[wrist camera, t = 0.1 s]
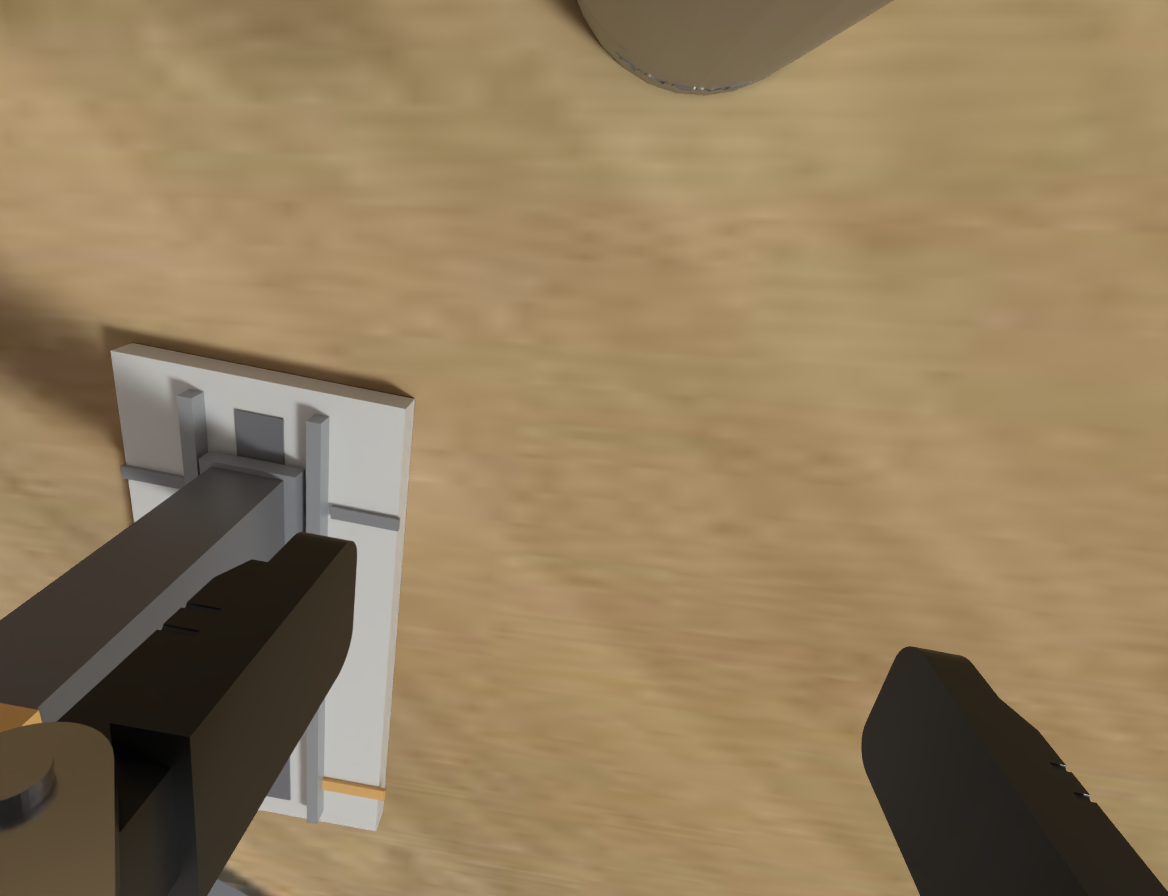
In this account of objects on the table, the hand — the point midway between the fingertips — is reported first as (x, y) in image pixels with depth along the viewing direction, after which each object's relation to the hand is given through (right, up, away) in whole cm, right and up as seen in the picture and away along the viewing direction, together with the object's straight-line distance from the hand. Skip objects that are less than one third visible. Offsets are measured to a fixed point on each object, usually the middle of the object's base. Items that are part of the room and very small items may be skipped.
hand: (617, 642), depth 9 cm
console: (-16, -6, +23) cm, 28 cm away
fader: (-15, +1, +18) cm, 23 cm away
